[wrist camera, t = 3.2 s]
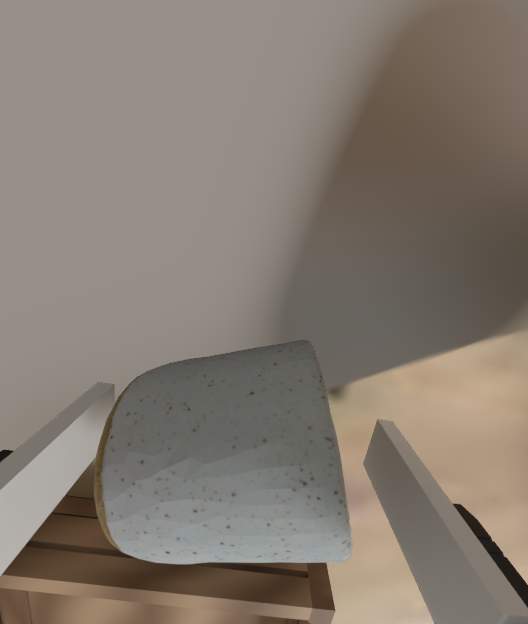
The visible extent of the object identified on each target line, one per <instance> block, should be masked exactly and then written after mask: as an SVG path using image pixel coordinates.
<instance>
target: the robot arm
mask: <svg viewBox="0 0 528 624" xmlns="http://www.w3.org/2000/svg"><path fill="white" fill-rule="evenodd" d="M114 397H115V396H114V384H109V383H102V382H97V383H96V384H95V385H94V386H92V387H91V388H90V389H89V390H88V391H86V392H85V393H84V394H83V395H82V396H80V397H79V398H78V399H77V400H75V401H74V402H73V403H72V404H71V405H69V406H68V407H67V408H66V409H65V410H63V411H62V412H61V413H60V414H59V415H57V416H56V417H55V418H54V419H52V420H51V421H50V422H49V423H48V424H46V425H45V426H44V427H43V428H42V429H40V430H39V431H38V432H37V433H36V434H34V435H33V436H32V437H31V438H29V439H28V440H27V441H26V442H25V443H23V444H22V445H21V446H20V447H18V448H17V449H16V450H15V451H10V450H2V451H1V452H0V576H1V575H2V574H3V572H4V571H5V570H6V569H7V567H8V566H9V565H10V564H11V562H12V561H13V560H14V559H15V557H16V556H17V555H18V554H19V552H20V551H21V550H22V549H23V547H24V546H25V545H26V544H27V542H28V541H29V540H30V538H31V537H32V536H33V535H34V533H35V532H36V531H37V530H38V528H39V527H40V526H41V525H42V523H43V522H44V521H45V520H46V518H47V517H48V516H49V515H50V513H51V512H52V511H53V510H54V508H55V507H56V506H57V505H58V503H59V502H60V501H61V500H62V498H63V497H64V496H65V495H66V493H67V492H68V491H69V490H70V488H71V487H72V486H73V485H74V483H75V482H76V481H77V479H78V478H79V477H80V476H81V474H82V473H83V472H84V471H85V469H86V468H87V467H88V466H89V464H90V463H91V462H92V461H93V459H94V458H95V457H96V454H97V450H98V446H99V442H100V439H101V435H102V432H103V429H104V426H105V423H106V420H107V418H108V416H109V414H110V412H111V410H112V408H113V406H114V405H115V400H114ZM363 465H364V467H365V469H366V471H367V474H368V476H369V478H370V480H371V482H372V485H373V487H374V489H375V491H376V494H377V496H378V498H379V500H380V503H381V505H382V507H383V509H384V512H385V514H386V516H387V518H388V520H389V523H390V525H391V527H392V529H393V532H394V534H395V536H396V538H397V541H398V543H399V545H400V547H401V549H402V552H403V554H404V556H405V558H406V561H407V563H408V565H409V567H410V570H411V572H412V574H413V576H414V578H415V581H416V583H417V585H418V587H419V590H420V592H421V594H422V596H423V599H424V601H425V603H426V605H427V607H428V610H429V612H430V614H431V616H432V619H433V621H434V623H435V624H528V585H527V583H526V582H525V581H524V580H523V578H522V577H521V576H520V574H519V573H518V572H517V571H516V569H515V568H514V567H513V565H512V564H511V563H510V561H509V560H508V559H507V558H506V557H504V555H503V552H502V551H501V550H500V549H499V547H498V546H497V545H496V543H495V542H493V541H492V539H491V537H490V536H489V534H488V533H487V532H486V530H485V529H484V528H483V526H482V525H481V524H480V523H479V521H478V520H477V519H476V518H475V517H474V516H473V515H471V514H470V513H469V512H468V511H467V510H466V509H465V508H464V507H463V506H462V505H461V504H452V503H451V501H450V500H449V498H448V497H447V496H446V494H445V493H444V491H443V490H442V489H441V487H440V486H439V485H438V483H437V482H436V480H435V479H434V478H433V476H432V475H431V474H430V472H429V471H428V469H427V468H426V467H425V465H424V464H423V462H422V461H421V460H420V458H419V457H418V456H417V454H416V453H415V451H414V450H413V449H412V447H411V446H410V444H409V443H408V442H407V440H406V439H405V438H404V436H403V435H402V433H401V432H400V431H399V429H398V428H397V427H396V425H395V424H394V422H393V421H387V420H379V419H377V423H376V426H375V429H374V432H373V435H372V438H371V441H370V445H369V448H368V451H367V454H366V457H365V460H364V463H363Z"/></svg>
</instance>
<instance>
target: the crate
mask: <svg viewBox="0 0 528 624" xmlns="http://www.w3.org/2000/svg"><path fill="white" fill-rule="evenodd" d="M334 613H335V607H334V602H333V596H332V591H331V586H330V581H329V575H328V570H327V565H326V563H291V562H274V563H232V562H207V563H196V564H167V563H154V562H150V561H146V560H142V559H138V558H135V557H133V556H130V555H128V554H125V553H123V552H121V551H119V550H118V549H117V548H116V547H115V546H113V545H112V544H111V543H110V542H109V541H108V539H107V537H106V535H105V534H104V532H103V530H102V527H101V524H100V521H99V518H98V516H97V512H96V505H95V500H94V499H86V498H78V497H69V496H64V497H63V498H62V500H61V501H60V502H59V503H58V505H57V506H56V507H55V508H54V510H53V511H52V512H51V513H50V515H49V516H48V517H47V518H46V520H45V521H44V522H43V523H42V525H41V526H40V527H39V528H38V530H37V531H36V532H35V533H34V535H33V536H32V537H31V538H30V540H29V541H28V542H27V544H26V545H25V546H24V547H23V549H22V550H21V551H20V552H19V554H18V555H17V556H16V557H15V559H14V560H13V561H12V562H11V564H10V565H9V566H8V567H7V569H6V570H5V571H4V572H3V574H2V575H1V576H0V624H331V622H332V619H333V616H334Z"/></svg>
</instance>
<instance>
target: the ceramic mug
mask: <svg viewBox="0 0 528 624" xmlns="http://www.w3.org/2000/svg"><path fill="white" fill-rule="evenodd" d="M94 498H95V505H96V512H97V516H98V518H99V521H100V524H101V527H102V530H103V532H104V534H105V535H106V537H107V539H108V541H109V542H110V543H111V544H112V545H113V546H115V547H116V548H117V549H118V550H119V551H121V552H123V553H125V554H128V555H130V556H133V557H135V558H138V559H142V560H146V561H150V562H154V563H167V564H196V563H207V562H232V563H274V562H291V563H327V562H344V561H346V560H348V559H349V558H350V555H351V549H352V542H351V527H350V524H349V513H348V508H347V501H346V494H345V485H344V478H343V471H342V465H341V458H340V452H339V447H338V442H337V437H336V433H335V428H334V425H333V421H332V418H331V414H330V409H329V403H328V397H327V393H326V389H325V385H324V381H323V378H322V375H321V372H320V368H319V363H318V360H317V358H316V354H315V351H314V349H313V346H312V344H311V343H310V342H309V341H306V340H300V341H295V342H290V343H285V344H278V345H272V346H266V347H259V348H253V349H248V350H242V351H237V352H232V353H226V354H220V355H215V356H210V357H202V358H194V359H188V360H183V361H178V362H174V363H169V364H166V365H163V366H161V367H158V368H155V369H152V370H150V371H147V372H146V373H144V374H142V375H140V376H138V377H137V378H136V379H135V380H133V381H132V382H131V383H130V384H129V385H128V387H127V388H126V389H125V390H124V391H123V392H122V394H121V395H120V396H119V397H118V399H117V401H116V403H115V405H114V406H113V408H112V410H111V412H110V414H109V416H108V418H107V420H106V423H105V426H104V429H103V432H102V435H101V439H100V442H99V446H98V450H97V454H96V465H95V478H94Z"/></svg>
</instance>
